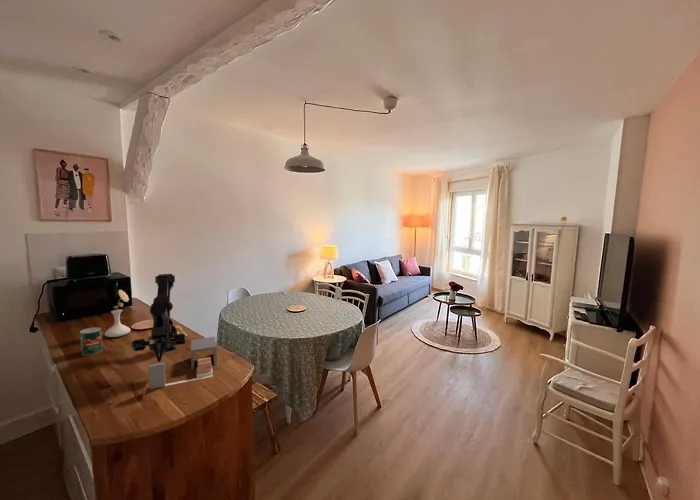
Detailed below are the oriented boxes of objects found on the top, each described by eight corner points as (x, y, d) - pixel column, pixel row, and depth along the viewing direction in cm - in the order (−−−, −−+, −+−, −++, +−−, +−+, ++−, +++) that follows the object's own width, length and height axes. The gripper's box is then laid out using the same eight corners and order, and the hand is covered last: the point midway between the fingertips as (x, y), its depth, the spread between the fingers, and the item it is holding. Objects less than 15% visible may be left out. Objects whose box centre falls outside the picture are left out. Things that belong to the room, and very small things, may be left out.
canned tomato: (90, 356, 141) (88, 333, 140) (76, 354, 143) (75, 332, 142) (106, 349, 149) (105, 327, 148) (94, 347, 151) (92, 326, 149)
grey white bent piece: (152, 380, 122) (151, 356, 121) (212, 368, 132) (211, 347, 131) (149, 391, 114) (148, 366, 113) (213, 379, 124) (212, 355, 123)
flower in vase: (120, 339, 161) (117, 294, 158) (99, 338, 161) (96, 293, 158) (137, 330, 174) (135, 288, 171) (118, 329, 174) (115, 287, 171)
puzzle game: (178, 323, 174) (187, 333, 160) (178, 331, 175) (187, 342, 160) (154, 328, 167) (162, 339, 152) (155, 336, 167) (162, 348, 152)
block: (198, 370, 129) (197, 359, 128) (210, 367, 131) (210, 357, 130) (198, 375, 124) (197, 364, 124) (211, 373, 127) (211, 362, 126)
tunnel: (191, 359, 140) (191, 340, 139) (215, 355, 145) (214, 336, 144) (191, 371, 130) (190, 350, 129) (216, 367, 134) (216, 346, 133)
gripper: (131, 321, 121) (127, 359, 112) (184, 315, 129) (184, 350, 121) (135, 332, 128) (132, 369, 120) (185, 326, 137) (185, 360, 128)
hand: (159, 361), depth 122 cm, fingers closed
